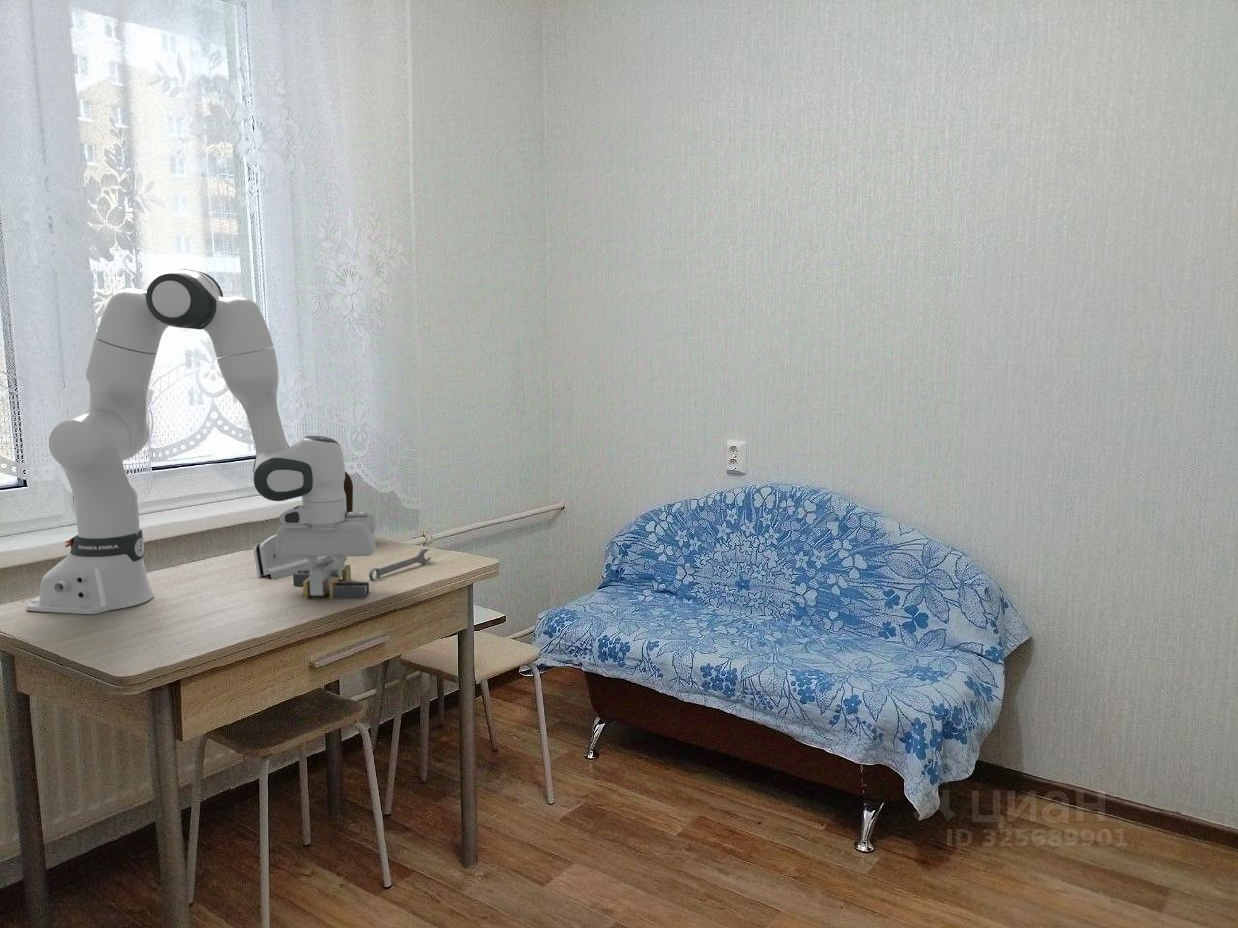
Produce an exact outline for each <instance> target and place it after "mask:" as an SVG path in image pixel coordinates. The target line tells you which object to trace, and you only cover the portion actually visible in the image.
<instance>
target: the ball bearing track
mask: <svg viewBox="0 0 1238 928" xmlns="http://www.w3.org/2000/svg"><path fill="white" fill-rule="evenodd" d="M311 570H312V569H310V570H298V573H296V574H292V577H293V578H292V580H293V581H292V582H293V586H295V587H296V586H300V587H301V586H302V587H303V589H302V590H303V591H302V592H303V593H302V594H303V599H309V598H310V597H311V596H312V595H310V577H309V571H311ZM351 574H352V572H351V564H346V565H345V567H344V568H343V569H342V577H341V578H342V579H341V580H342V581H339V580H338V577H333V578H332V579H331V580H330V581H329V590H328V592H329V593H328V595H329V599H365V598H366V596H368V595H369V594H370V581H351V580H352V575H351Z"/></svg>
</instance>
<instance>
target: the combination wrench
mask: <svg viewBox="0 0 1238 928" xmlns="http://www.w3.org/2000/svg"><path fill="white" fill-rule="evenodd" d="M428 551H429V548H422V549H420V550H419V551H418V553H417V555H415V556H413V557H411V558H407V559H405V560H401V561H399V562H395V563H391V564H389V565H386V566H383V567H380V568H377V567H372V568H371V569H370V571H369V573H368V578H369V579H370V581H373V580H374V581H376V579H377V580H379V579H380V577H381V576H384V575H386V574H388V573H391V572H394V571H397V570H400V569H402V568H406V567H408V566H411V565H415V564H420V563H421V564H420V565H424V564H423V563H426V562H428V563H429V562H430V560H431V559H432V557H431V556H428V557H427V558H425V554H426V553H427V552H428ZM426 564H427V563H426ZM374 572H376V573H375V574H376V575H375V577H373V575H374Z"/></svg>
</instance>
